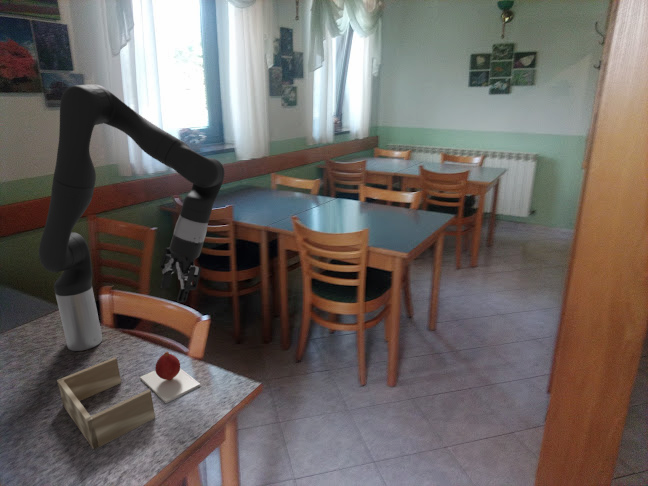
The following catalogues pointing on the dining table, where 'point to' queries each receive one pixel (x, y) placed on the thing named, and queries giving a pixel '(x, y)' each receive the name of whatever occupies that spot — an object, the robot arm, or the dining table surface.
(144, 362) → the dining table surface
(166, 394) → the board
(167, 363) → the onion
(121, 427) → the open box
